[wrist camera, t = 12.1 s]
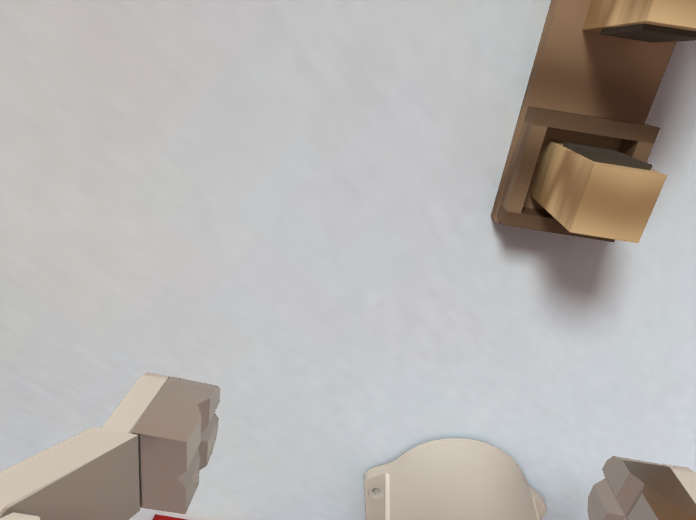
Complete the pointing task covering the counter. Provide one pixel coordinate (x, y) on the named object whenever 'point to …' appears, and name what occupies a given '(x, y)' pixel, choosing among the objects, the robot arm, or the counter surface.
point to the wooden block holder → (590, 91)
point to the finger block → (597, 190)
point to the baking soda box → (165, 518)
